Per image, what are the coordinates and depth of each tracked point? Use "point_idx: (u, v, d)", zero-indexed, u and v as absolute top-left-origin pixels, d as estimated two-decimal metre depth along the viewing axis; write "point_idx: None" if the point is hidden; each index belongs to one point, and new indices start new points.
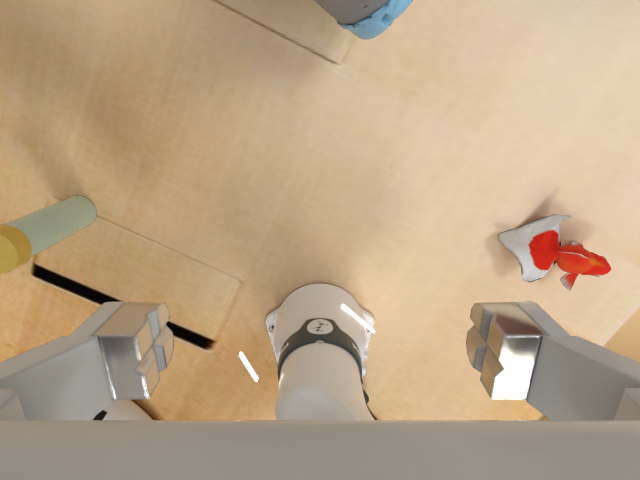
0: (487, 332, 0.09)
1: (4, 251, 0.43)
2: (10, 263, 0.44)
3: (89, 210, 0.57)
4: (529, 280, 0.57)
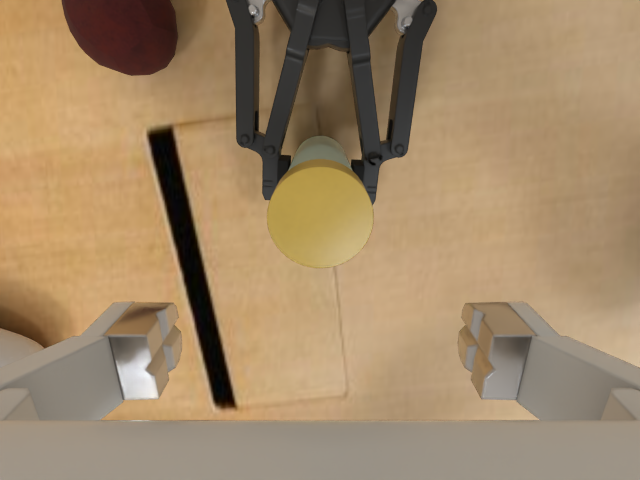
0: (478, 332, 0.09)
1: (336, 238, 0.19)
2: (314, 257, 0.19)
3: None
4: None
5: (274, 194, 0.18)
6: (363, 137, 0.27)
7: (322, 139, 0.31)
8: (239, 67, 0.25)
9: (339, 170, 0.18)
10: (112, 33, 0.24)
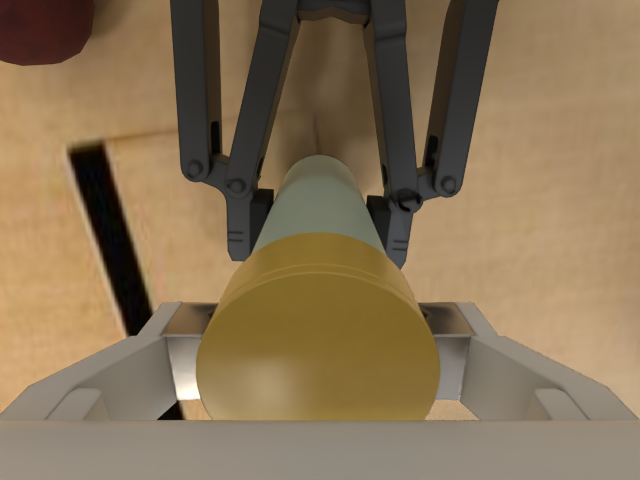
0: None
1: (354, 416, 0.08)
2: None
3: None
4: None
5: (209, 331, 0.08)
6: (390, 165, 0.16)
7: (322, 163, 0.20)
8: (180, 48, 0.15)
9: (364, 279, 0.07)
10: None
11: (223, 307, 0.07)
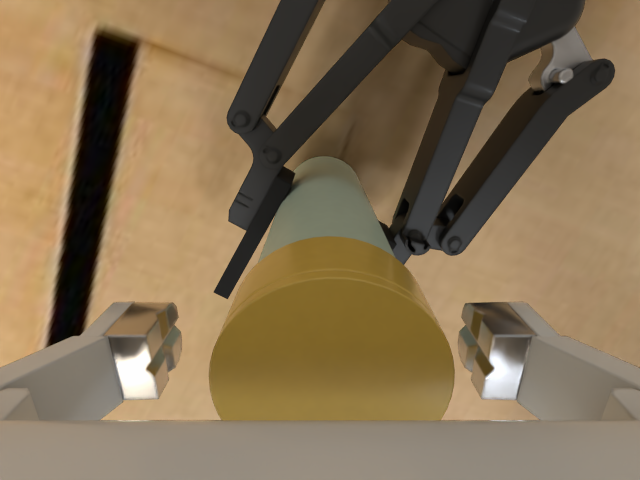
0: (478, 332, 0.09)
1: (389, 392, 0.08)
2: None
3: None
4: None
5: (218, 408, 0.08)
6: (415, 204, 0.17)
7: (347, 170, 0.20)
8: (287, 3, 0.14)
9: (280, 287, 0.07)
10: None
11: None
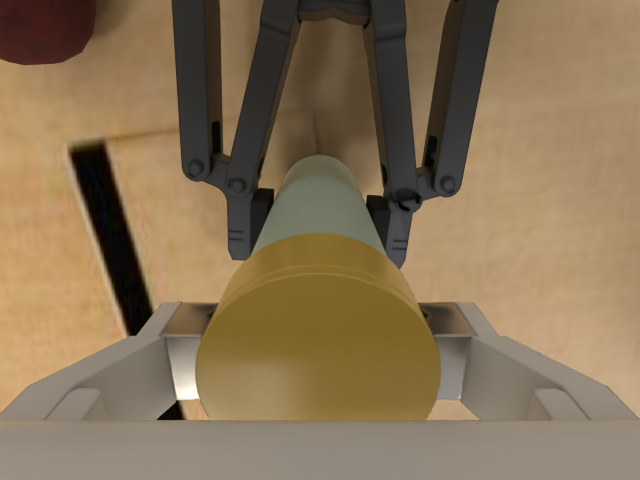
0: None
1: (374, 367, 0.08)
2: (398, 419, 0.08)
3: None
4: None
5: None
6: (390, 165, 0.16)
7: (322, 163, 0.20)
8: (181, 48, 0.15)
9: (219, 314, 0.07)
10: None
11: None
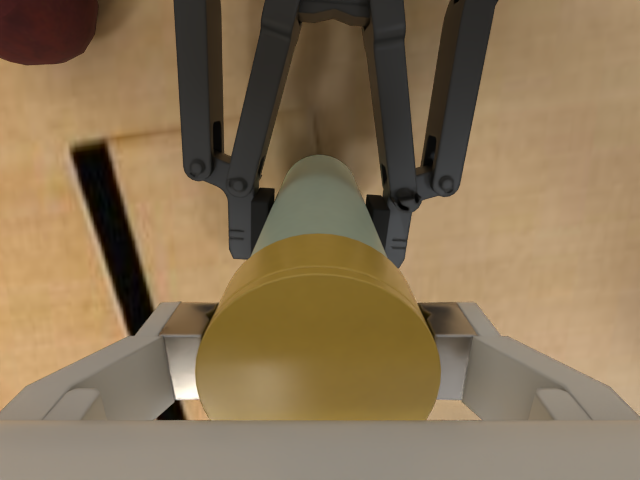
0: None
1: (318, 334, 0.08)
2: (393, 331, 0.08)
3: None
4: None
5: None
6: (389, 165, 0.16)
7: (322, 163, 0.20)
8: (183, 49, 0.15)
9: None
10: None
11: None
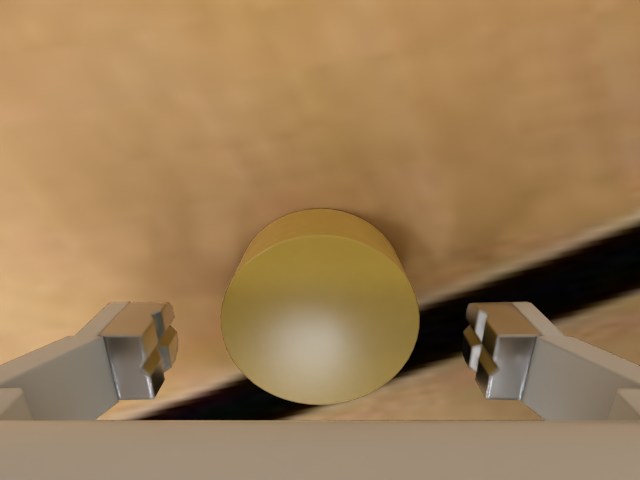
0: (482, 332, 0.09)
1: (320, 285, 0.10)
2: (380, 283, 0.09)
3: None
4: None
5: (349, 399, 0.11)
6: None
7: None
8: None
9: (238, 365, 0.10)
10: None
11: (328, 403, 0.11)
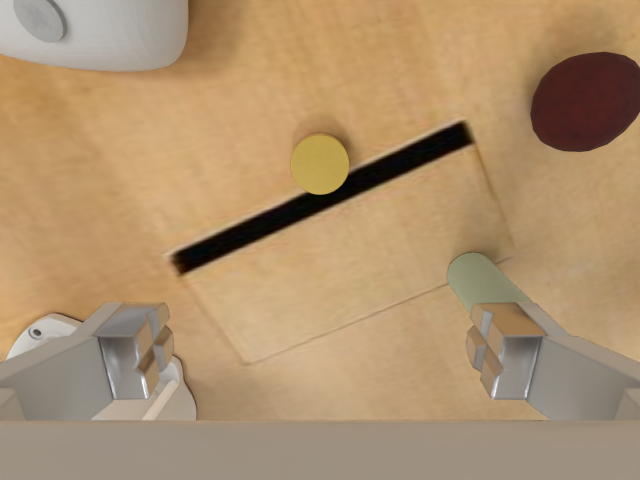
0: (487, 332, 0.09)
1: (319, 151, 0.33)
2: (337, 150, 0.33)
3: None
4: None
5: (329, 192, 0.34)
6: None
7: None
8: None
9: (294, 179, 0.34)
10: (594, 118, 0.28)
11: None
